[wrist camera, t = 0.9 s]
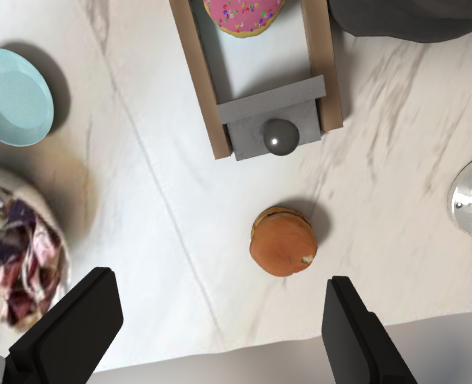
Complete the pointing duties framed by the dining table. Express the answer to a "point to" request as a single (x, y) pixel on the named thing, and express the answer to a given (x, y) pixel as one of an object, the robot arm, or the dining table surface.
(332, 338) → the robot arm
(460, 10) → the casserole
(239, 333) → the dining table surface
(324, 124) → the press bed
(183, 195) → the dining table surface
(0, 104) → the saucer
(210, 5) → the cupcake
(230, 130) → the ram
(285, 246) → the burger
